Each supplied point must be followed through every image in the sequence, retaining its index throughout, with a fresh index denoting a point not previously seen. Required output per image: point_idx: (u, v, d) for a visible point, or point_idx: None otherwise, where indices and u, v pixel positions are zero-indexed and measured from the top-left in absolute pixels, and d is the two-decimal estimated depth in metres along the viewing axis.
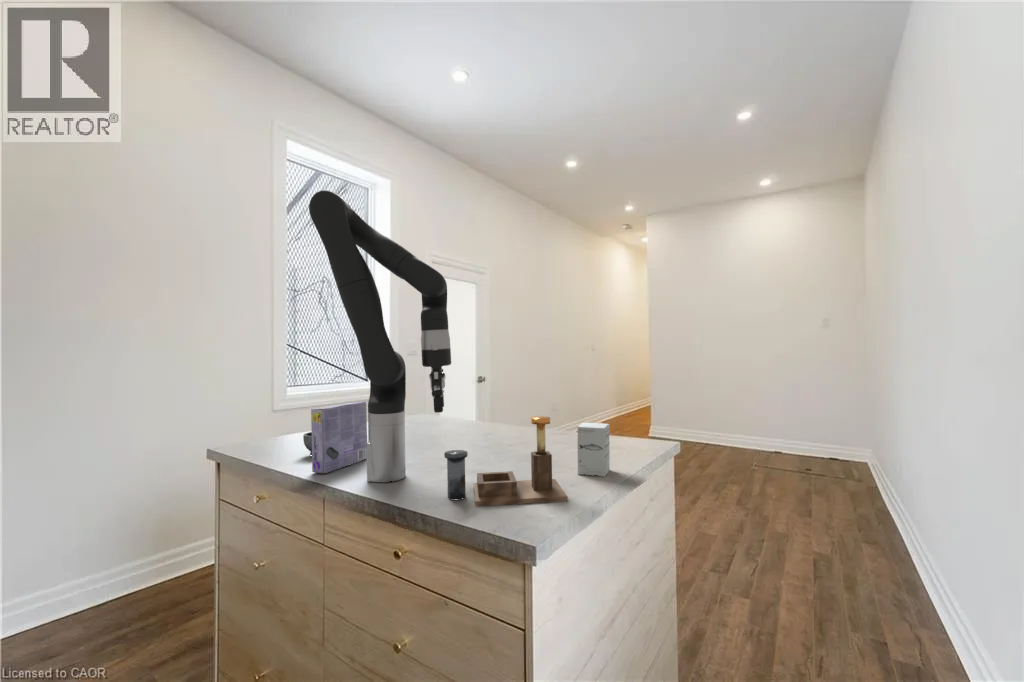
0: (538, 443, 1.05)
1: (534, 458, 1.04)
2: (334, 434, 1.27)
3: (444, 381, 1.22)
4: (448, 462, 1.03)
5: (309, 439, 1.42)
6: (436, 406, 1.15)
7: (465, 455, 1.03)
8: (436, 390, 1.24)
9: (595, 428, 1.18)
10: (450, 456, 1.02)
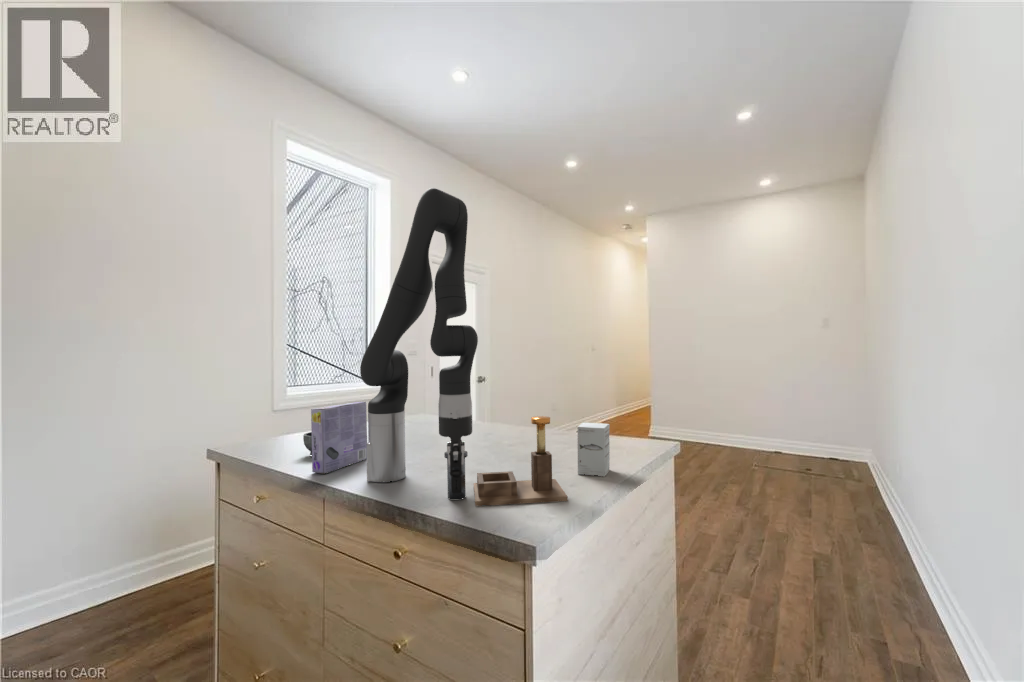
0: (538, 443, 1.05)
1: (534, 458, 1.04)
2: (334, 434, 1.27)
3: None
4: None
5: (309, 439, 1.42)
6: (454, 487, 1.01)
7: (465, 455, 1.03)
8: None
9: (595, 428, 1.18)
10: None
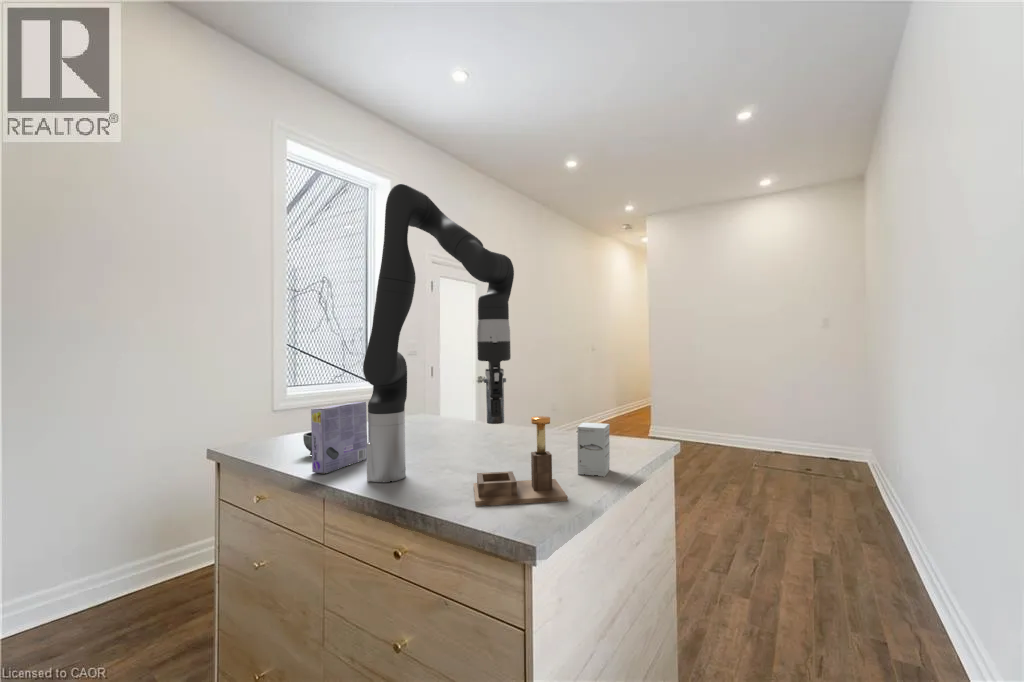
0: (538, 443, 1.05)
1: (534, 458, 1.04)
2: (334, 434, 1.27)
3: None
4: None
5: (309, 439, 1.42)
6: (494, 410, 1.02)
7: (504, 380, 1.04)
8: None
9: (595, 428, 1.18)
10: (490, 380, 1.03)
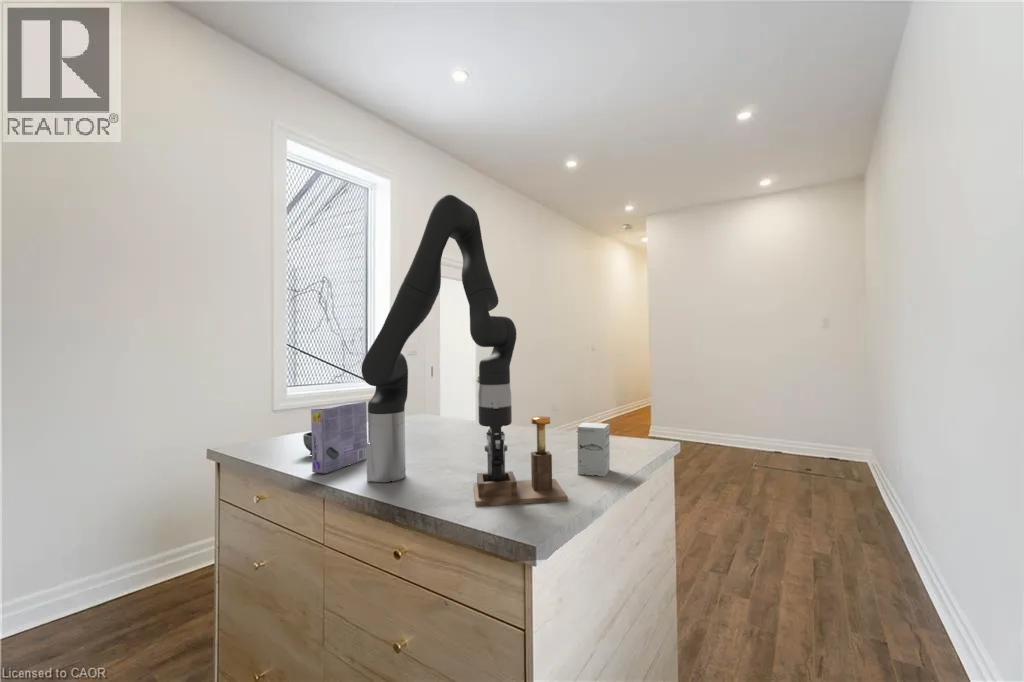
0: (538, 443, 1.05)
1: (534, 458, 1.04)
2: (334, 434, 1.27)
3: None
4: (489, 455, 1.04)
5: (309, 439, 1.42)
6: (495, 476, 1.02)
7: (505, 449, 1.04)
8: None
9: (595, 428, 1.18)
10: None
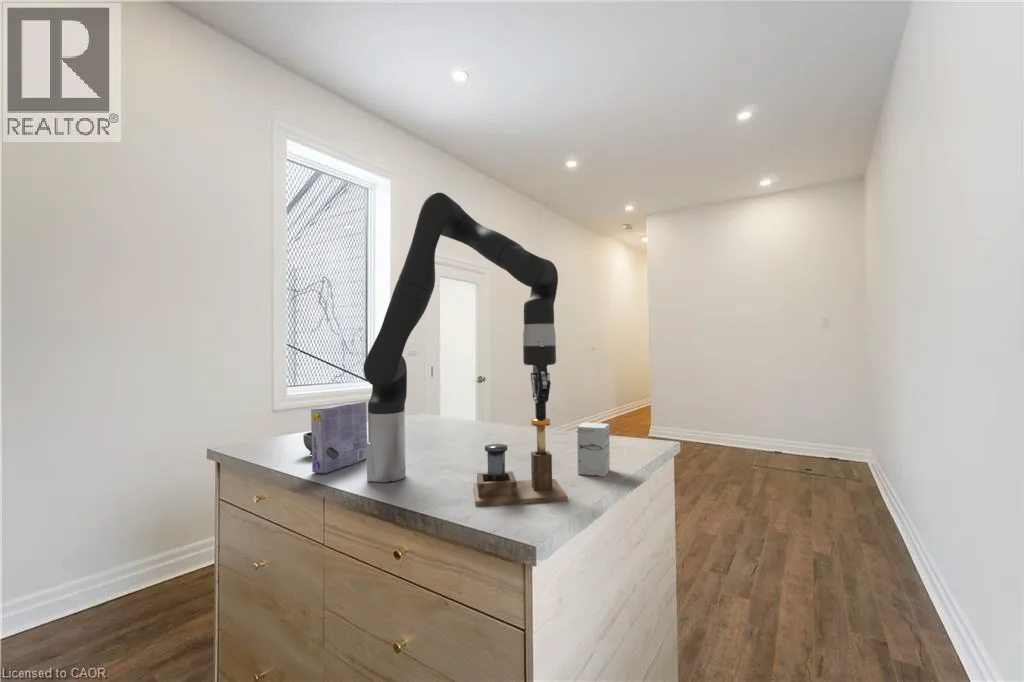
0: (538, 445, 1.05)
1: (534, 458, 1.04)
2: (334, 434, 1.27)
3: None
4: (489, 455, 1.04)
5: (309, 439, 1.42)
6: (539, 413, 1.05)
7: (506, 448, 1.04)
8: None
9: (595, 428, 1.18)
10: (491, 449, 1.03)
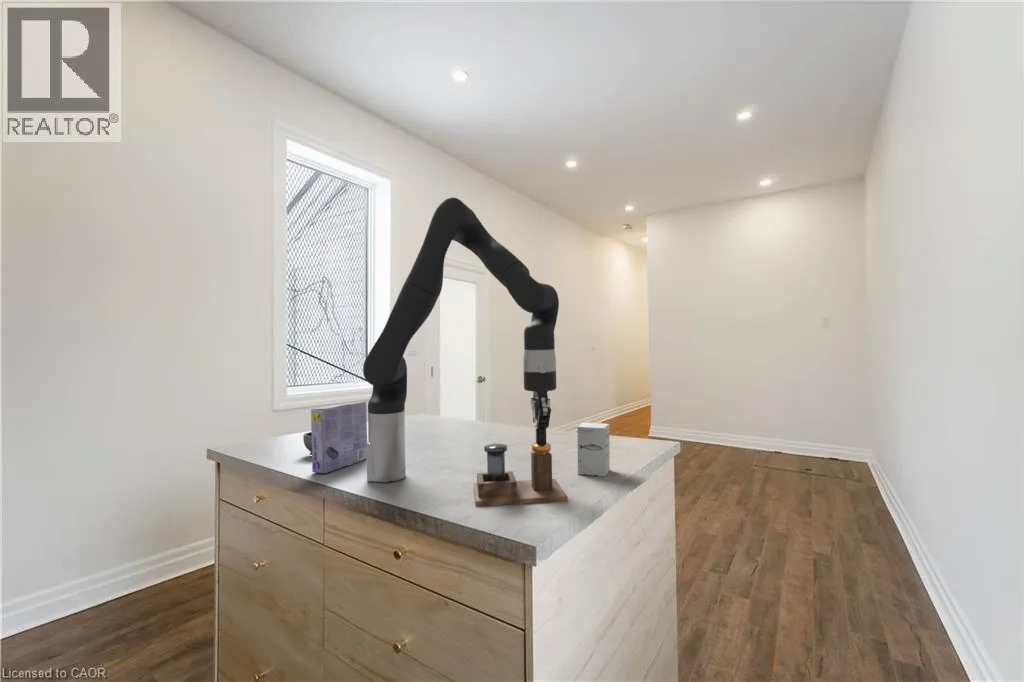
0: None
1: (534, 458, 1.04)
2: (334, 434, 1.27)
3: None
4: (489, 455, 1.04)
5: (309, 439, 1.42)
6: (540, 438, 1.05)
7: (505, 449, 1.04)
8: None
9: (595, 428, 1.18)
10: (491, 450, 1.02)
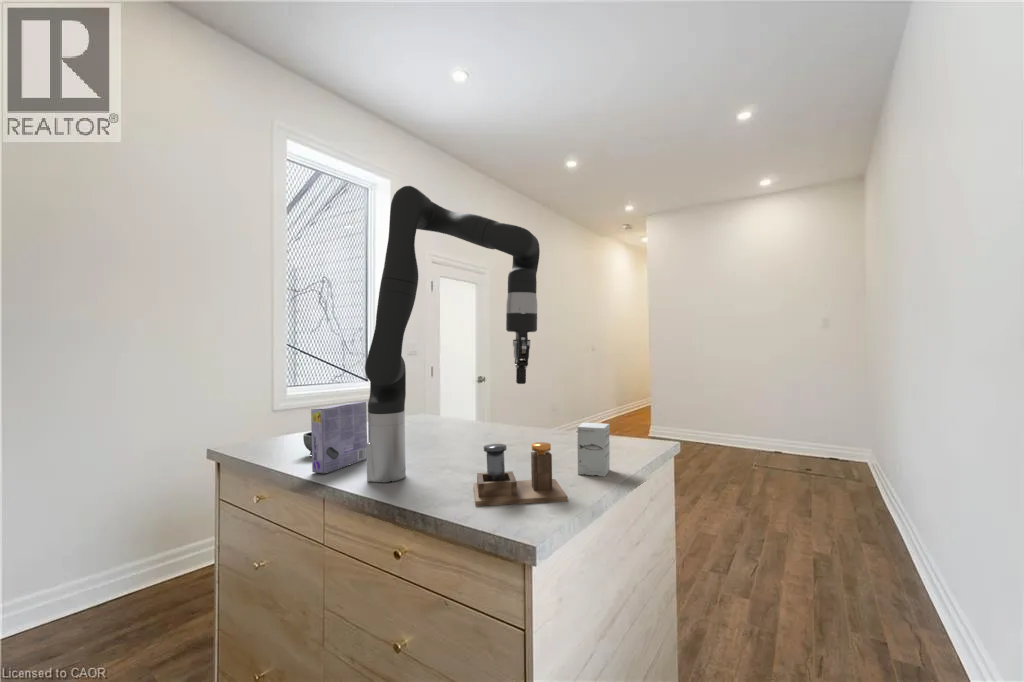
0: None
1: (534, 458, 1.04)
2: (334, 434, 1.27)
3: None
4: (488, 455, 1.04)
5: (309, 439, 1.42)
6: (519, 377, 1.11)
7: (505, 448, 1.04)
8: None
9: (595, 428, 1.18)
10: (490, 450, 1.03)
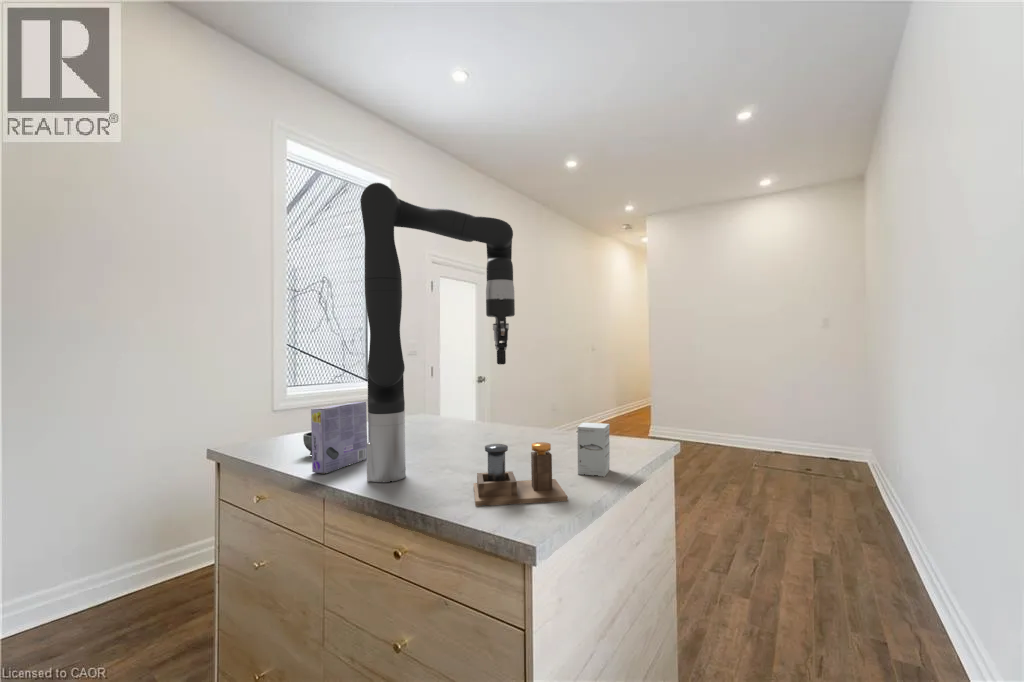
0: None
1: (534, 458, 1.04)
2: (334, 434, 1.27)
3: None
4: (489, 455, 1.03)
5: (309, 439, 1.42)
6: (500, 358, 1.20)
7: (506, 449, 1.04)
8: None
9: (595, 428, 1.18)
10: (492, 450, 1.02)
